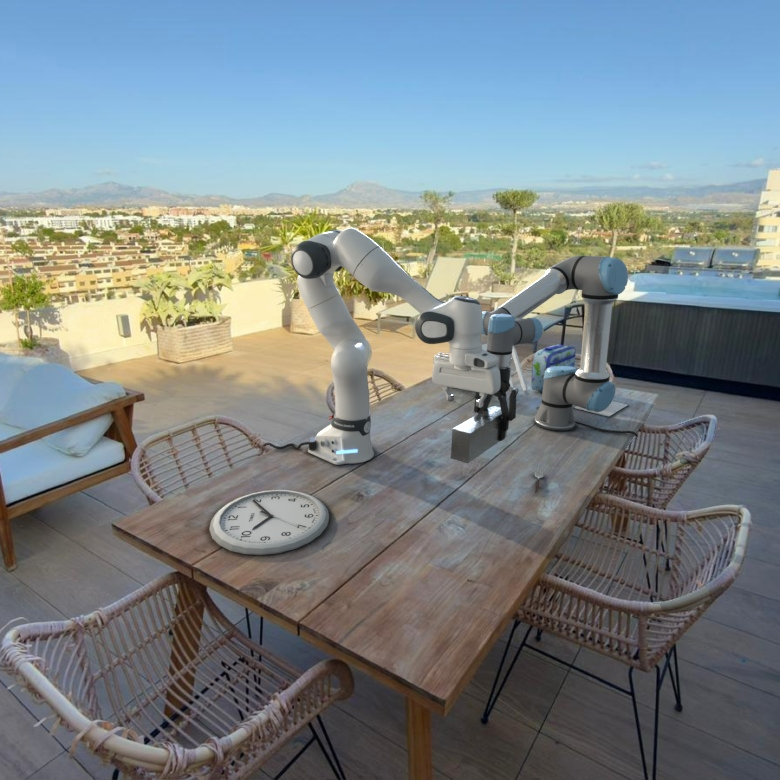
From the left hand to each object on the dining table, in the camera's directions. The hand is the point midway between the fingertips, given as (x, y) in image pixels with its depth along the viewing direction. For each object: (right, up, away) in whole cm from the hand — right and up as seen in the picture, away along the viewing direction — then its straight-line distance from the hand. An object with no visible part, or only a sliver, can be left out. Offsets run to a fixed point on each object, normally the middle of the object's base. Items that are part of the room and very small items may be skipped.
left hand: (464, 403), depth 148 cm
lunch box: (+56, +4, +102) cm, 116 cm away
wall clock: (-52, -30, -13) cm, 61 cm away
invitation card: (+70, -3, +78) cm, 105 cm away
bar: (+6, -13, +11) cm, 18 cm away
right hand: (+11, -11, +17) cm, 23 cm away
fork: (+23, -24, +9) cm, 35 cm away
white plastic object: (+21, +3, +95) cm, 97 cm away
